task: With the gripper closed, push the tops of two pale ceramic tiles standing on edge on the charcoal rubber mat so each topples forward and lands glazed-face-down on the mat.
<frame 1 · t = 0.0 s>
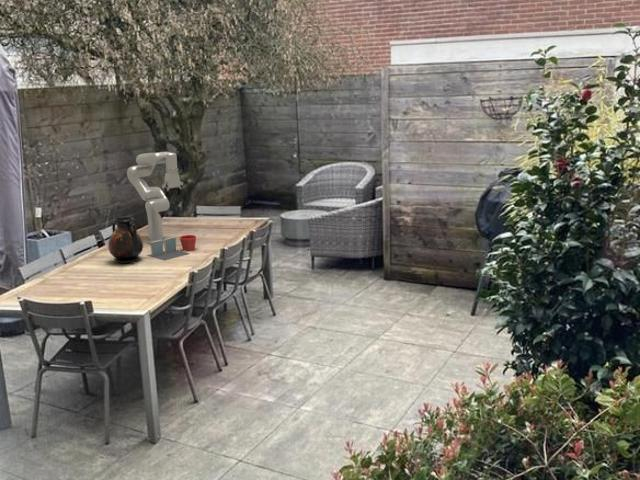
hand: (173, 195, 412), 37 cm above the table, tool pointing down, fingers open, 9 cm apart
amphora vase: (127, 261, 388), on the table
tile b: (157, 254, 399), point 1 cm above the table, touching mat
flower pot: (188, 250, 413), on the table
tile a: (170, 251, 407), point 1 cm above the table, touching mat
mat: (168, 255, 400), on the table
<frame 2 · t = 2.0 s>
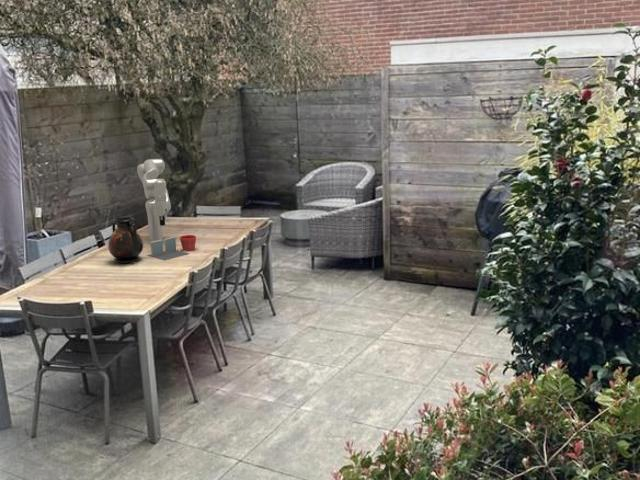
hand: (162, 225, 407), 18 cm above the table, tool pointing down, fingers closed
nothing on the table moved.
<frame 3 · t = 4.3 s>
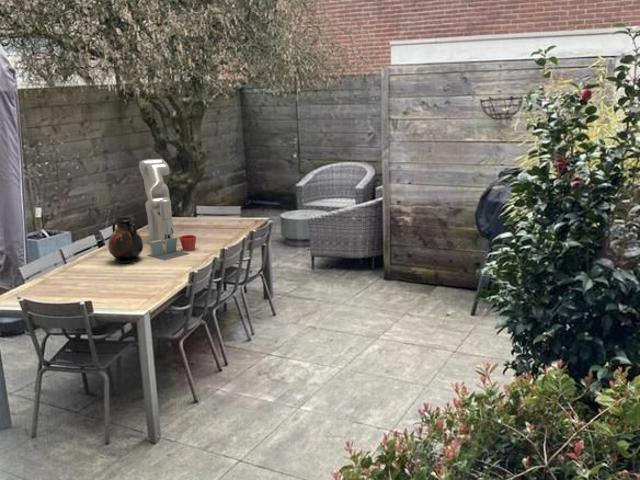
hand: (168, 243, 407), 6 cm above the table, tool pointing down, fingers closed
tile a: (170, 251, 407), point 1 cm above the table, tilted 9°, touching mat
everything else where it was.
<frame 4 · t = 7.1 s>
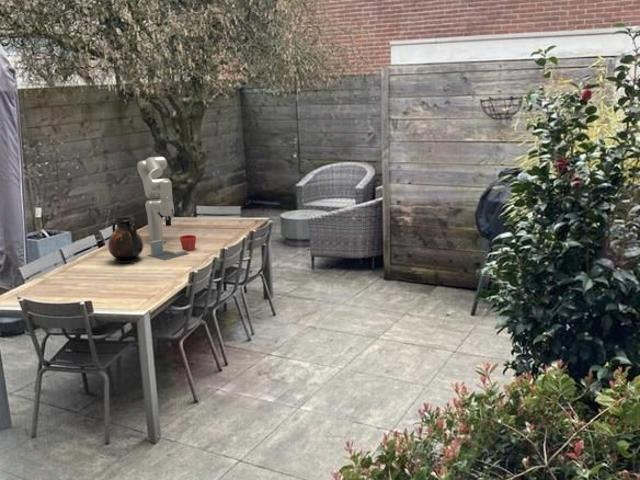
hand: (168, 225, 403), 19 cm above the table, tool pointing down, fingers closed
tile a: (171, 250, 406), point 2 cm above the table, tilted 90°, touching mat
everything else where it was.
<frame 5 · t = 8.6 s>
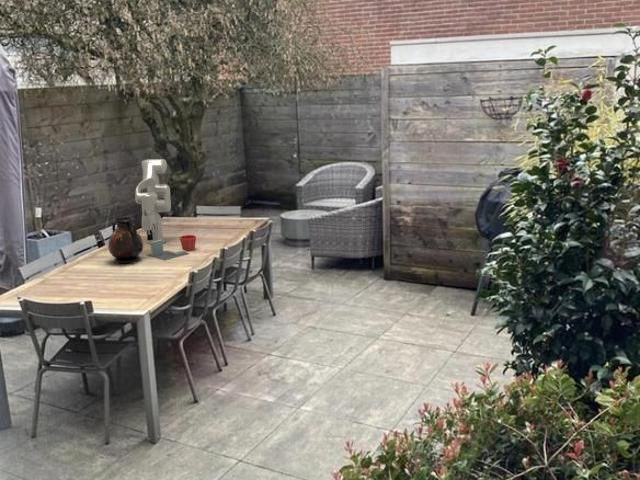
hand: (150, 239, 401), 10 cm above the table, tool pointing down, fingers closed
nothing on the table moved.
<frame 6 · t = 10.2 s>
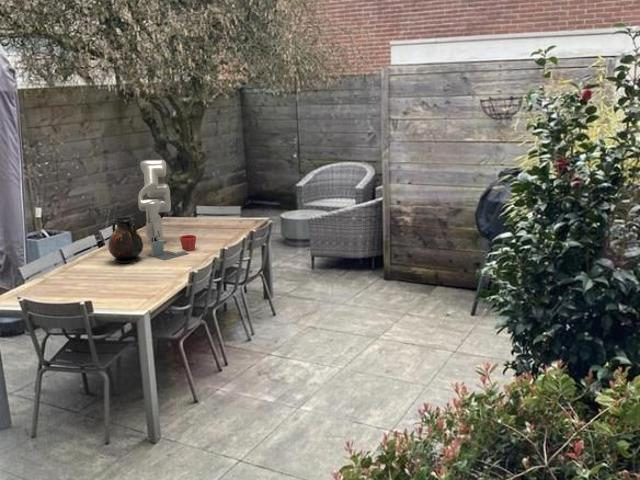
hand: (154, 246, 400), 6 cm above the table, tool pointing down, fingers closed
tile b: (157, 254, 399), point 1 cm above the table, tilted 7°, touching gripper, mat
everything else where it was.
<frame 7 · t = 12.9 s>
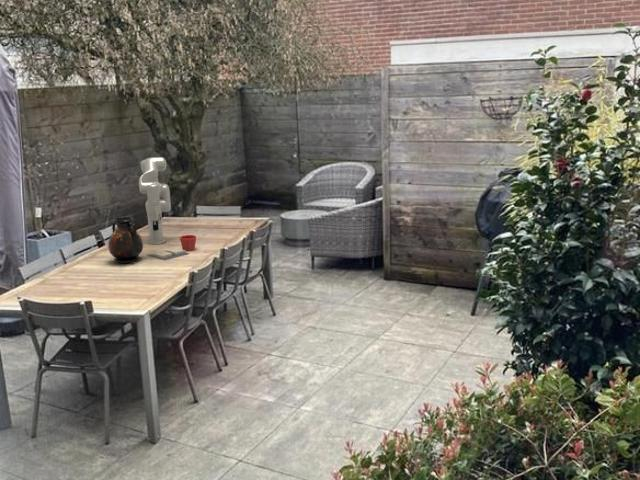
hand: (156, 230, 396), 18 cm above the table, tool pointing down, fingers closed
tile b: (158, 253, 399), point 2 cm above the table, tilted 90°, touching mat
everything else where it was.
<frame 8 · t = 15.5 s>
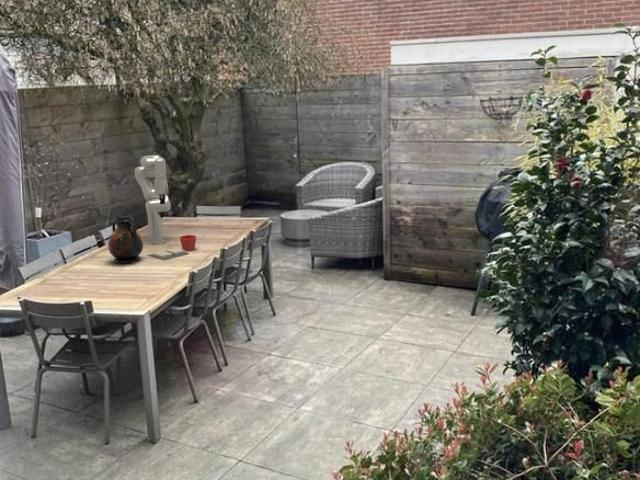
hand: (162, 203, 409), 32 cm above the table, tool pointing down, fingers closed
nothing on the table moved.
at the end: tile a tilted 90°; tile b tilted 90°; tile b inside the target area on the mat (6.7 cm from its centre), point 1.6 cm above the mat's base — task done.
